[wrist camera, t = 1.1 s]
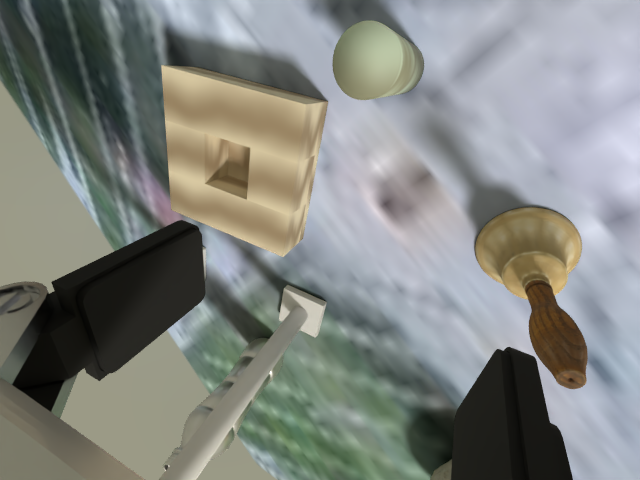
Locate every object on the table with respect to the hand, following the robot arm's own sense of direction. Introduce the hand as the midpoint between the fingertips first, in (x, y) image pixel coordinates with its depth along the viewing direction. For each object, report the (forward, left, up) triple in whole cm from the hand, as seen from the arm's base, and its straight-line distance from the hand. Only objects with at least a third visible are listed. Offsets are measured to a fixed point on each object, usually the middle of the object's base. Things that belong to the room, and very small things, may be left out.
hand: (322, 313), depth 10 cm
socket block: (+5, -18, -24) cm, 31 cm away
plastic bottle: (+35, -12, -24) cm, 45 cm away
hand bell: (+5, +12, -25) cm, 28 cm away
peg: (-7, -4, -24) cm, 25 cm away
